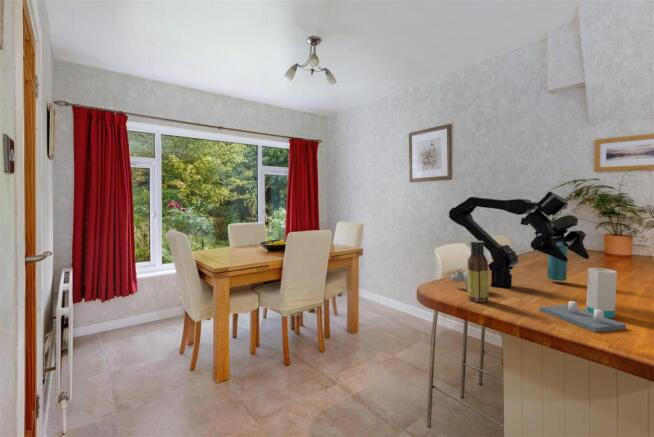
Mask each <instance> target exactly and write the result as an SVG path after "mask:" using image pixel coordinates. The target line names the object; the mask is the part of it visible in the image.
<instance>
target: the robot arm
mask: <svg viewBox="0 0 654 437" xmlns="http://www.w3.org/2000/svg"><path fill="white" fill-rule="evenodd" d="M568 204H569V202H568V201H567V200H566V199H565V198H564V197H562V196H559V194H557V193H554V192H553V191H548V192H547V193H546V194H545V195H544V197H542V198H541V199H540V200H539V201H538V202H537V201H534V202H532V201H531V199H528V198H517V199H496V198H486V197H485V198H484V197H478V196H470V197H468V198H467V199H465V200H464V201H462V202H461V203H459V204H458V205H456V206H455V207H452V208H451V209H450V210H449V212H448V217H449V220H451V221H453V223H455V224H457V225H460V226H461V227H463V228H465V230H467V231H468V232H469V233H470V234H471V235H472V236H473V238H475V239H476V241H484V248H485V249H486V250H487V251H488V252H489V253H490V254H489V255H490V256H491V259H492V260H493V261H492V262H490V263H489V264H488V270H489V271H491V273H490V274H491V277H490V278H491V282H490V285H489V286H490V287H498V288H504V289H505V288H506V289H510V288H511V287H512V283H513V274H511V270H513V268H514V266H515V265H517V264H518V262H519V257H518V255H517V251H515V250H513V249H512V248H511V246H510V245H509V244H504V245H502V244H500V243H498V242H497V241H496V239H494V237H492V236H491V235H490V234H489V233H488V232H487V231H486V230H485V229H484V228H482V227H481V226H480V225H479V223H477V222H476V221H475V220H474V218H473V216H472V213H473V212H474V210H475V209H476V208H477V207H479V208H488V209H495V210H496V209H497V210H502V211H505V212H507V213H511V214H513V215H517V216H520V215H521V216H522V215H526V216H523V217H521V220H520V225H521V226H528V225H529V226H531V227H532V229H533V230H535V232H534V234H535V235H536V236H535V237H534V238H533V239H532V241H531V242H530V248H531V249H532V250H533V251H537V252H538V253H543V254H545V255H547V256H548V255H550V256H553V257H555V258H557V259H560V260H562V261H564V262H567V263H568V261H569V259H568V256H567V257H566V256H565V254H564V253H563V252H562V251H561V250H560V249H559V247H558V246H557V245H556V243H562V244H563V245H564V246H566V247H567V250H568V251H570V252H573V253H575V254H576V255H578V256H579V257H581V258H583V259H585V260H588V259H590V255H589V253H588V251H587V248H586V247H585V245H584V240H585V238H586V236H587V234H586V233H585V231H583V230H570V231H569V229H570V228H573V227H576V226H578V224H579V219H578V218H577V217H576V216H575V215H572V214H569V215H564V216H561V217H559V218H557V219H554V220H553V221H552V220H551V219H550V218H549V217H550V216H553V217H555V216H556V215H557V214H558V213H560V212H561V211H562V210H563V209H564V208H565V207H566V206H568ZM568 232H569V233H568ZM565 234H566V235H565Z"/></svg>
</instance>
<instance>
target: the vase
mask: <svg viewBox="0 0 654 437" xmlns="http://www.w3.org/2000/svg"><path fill="white" fill-rule="evenodd" d="M617 275H618V272H617V271H616V270H613V269H609V268H602V267H601V268H599V267H588V268H587V283H586V284H587V285H586V310H585V311H587V312H590V313H593V314H594V309H598V310H603V311H604V317H605V318H608V319H611V318H612V319H615V318H616V316H615V315H616V296H617V279H618V278H617V277H618V276H617Z"/></svg>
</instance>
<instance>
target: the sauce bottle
mask: <svg viewBox="0 0 654 437" xmlns="http://www.w3.org/2000/svg"><path fill="white" fill-rule="evenodd" d="M470 248H471V249H470V251H471V252H470V256H469V258H468V259H467V270H468V291H467V296H468V299H469V300H470V301H471V302H474V303H487V302H489V266H488V265H489V264H488V262H489V261H488V259H487V258H486V256H485V252H484V250H485V249H484V248H485V247H484V241H478V240H471V241H470Z"/></svg>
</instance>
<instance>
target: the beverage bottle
mask: <svg viewBox="0 0 654 437" xmlns="http://www.w3.org/2000/svg"><path fill="white" fill-rule="evenodd" d="M556 245H557V246H558V247H559V249H560V250H561V251H562V252H563V253H564V254H565V256H566V257H567V258H568V249H567V248H568V247H566V246H564V245H563V244H562V243H556ZM567 270H568V261H567V262H564V261H562V260H560V259H557V258H555V257H553V256H550V255H548V254H547V278H548V279H549V280H552V281H559V282H564V281H565V282H566V281H567V279H568V277H567V275H568V271H567Z"/></svg>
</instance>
